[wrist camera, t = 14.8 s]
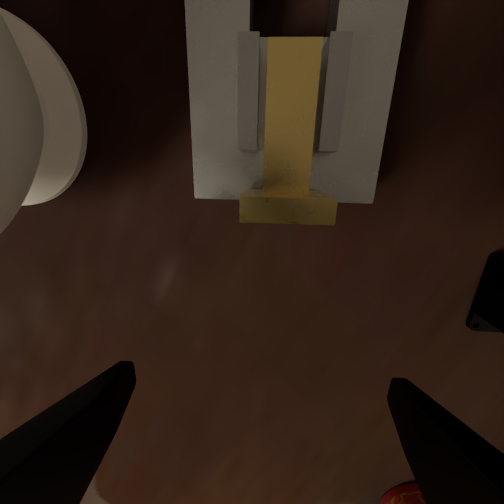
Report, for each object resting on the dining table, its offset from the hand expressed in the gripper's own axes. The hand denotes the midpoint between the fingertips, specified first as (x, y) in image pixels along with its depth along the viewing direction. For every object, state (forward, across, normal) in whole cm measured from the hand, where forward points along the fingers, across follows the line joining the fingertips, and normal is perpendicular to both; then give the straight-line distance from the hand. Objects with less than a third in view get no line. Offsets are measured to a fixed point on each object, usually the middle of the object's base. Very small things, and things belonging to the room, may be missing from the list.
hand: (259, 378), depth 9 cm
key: (+9, -1, -8) cm, 12 cm away
